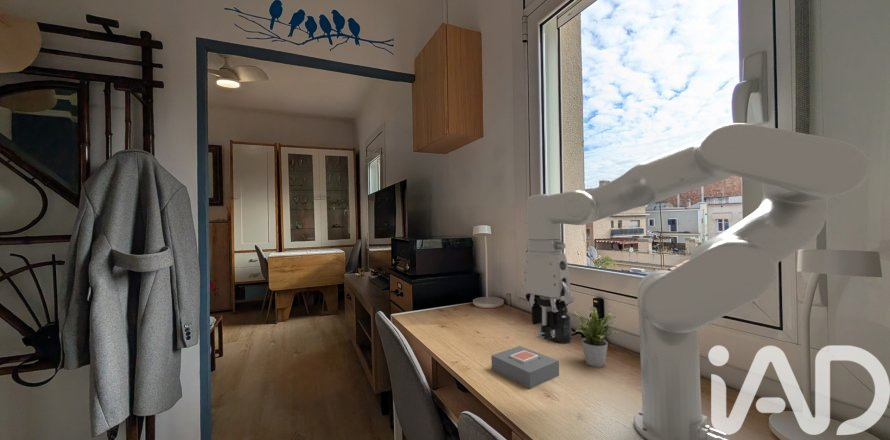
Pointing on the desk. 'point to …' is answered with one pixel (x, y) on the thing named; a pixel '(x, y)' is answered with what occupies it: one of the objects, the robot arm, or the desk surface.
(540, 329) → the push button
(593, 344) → the house plant
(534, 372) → the grey button box
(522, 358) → the breaker button
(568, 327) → the supplement bottle
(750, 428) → the desk surface
